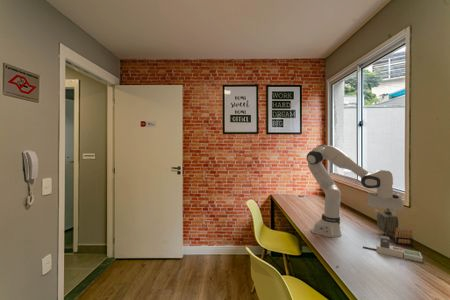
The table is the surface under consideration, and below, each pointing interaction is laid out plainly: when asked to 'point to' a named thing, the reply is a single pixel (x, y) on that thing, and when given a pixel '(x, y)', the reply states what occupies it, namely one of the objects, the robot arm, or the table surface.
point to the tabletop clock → (387, 222)
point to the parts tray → (412, 255)
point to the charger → (384, 241)
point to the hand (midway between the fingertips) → (384, 214)
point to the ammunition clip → (403, 237)
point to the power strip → (388, 250)
